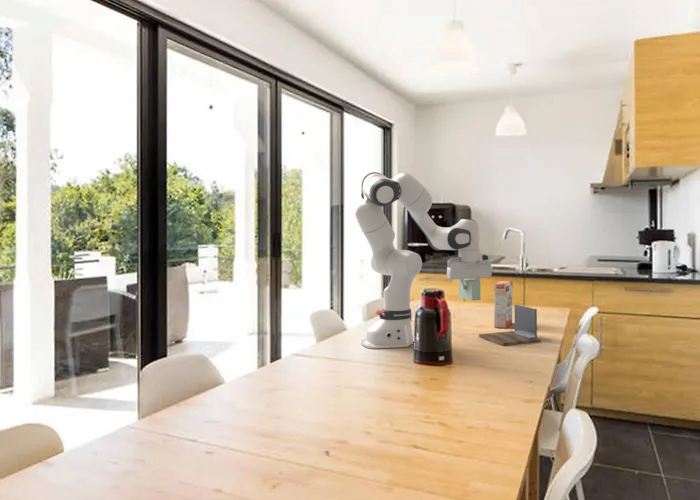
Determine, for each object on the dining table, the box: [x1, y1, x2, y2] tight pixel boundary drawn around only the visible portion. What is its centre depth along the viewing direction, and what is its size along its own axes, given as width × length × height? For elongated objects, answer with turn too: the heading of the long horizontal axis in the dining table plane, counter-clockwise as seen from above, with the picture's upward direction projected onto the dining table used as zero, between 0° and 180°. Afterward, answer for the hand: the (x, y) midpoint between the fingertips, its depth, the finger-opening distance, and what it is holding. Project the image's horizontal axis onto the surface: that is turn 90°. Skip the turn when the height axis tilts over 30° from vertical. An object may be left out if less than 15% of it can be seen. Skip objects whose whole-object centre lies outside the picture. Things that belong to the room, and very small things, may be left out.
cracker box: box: [493, 280, 514, 329], centre depth 248 cm, size 14×6×21 cm, turn 151°
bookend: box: [509, 304, 538, 339], centre depth 221 cm, size 4×14×12 cm, turn 18°
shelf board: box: [478, 330, 542, 347], centre depth 220 cm, size 18×18×1 cm
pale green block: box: [458, 278, 481, 301], centre depth 224 cm, size 4×11×8 cm, turn 18°
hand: (469, 288), depth 224 cm, fingers closed on pale green block, 4 cm apart
